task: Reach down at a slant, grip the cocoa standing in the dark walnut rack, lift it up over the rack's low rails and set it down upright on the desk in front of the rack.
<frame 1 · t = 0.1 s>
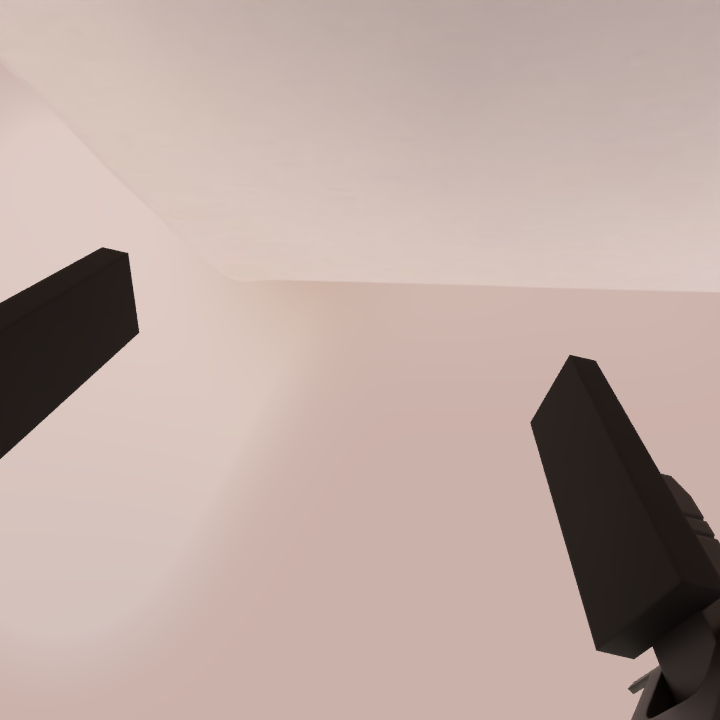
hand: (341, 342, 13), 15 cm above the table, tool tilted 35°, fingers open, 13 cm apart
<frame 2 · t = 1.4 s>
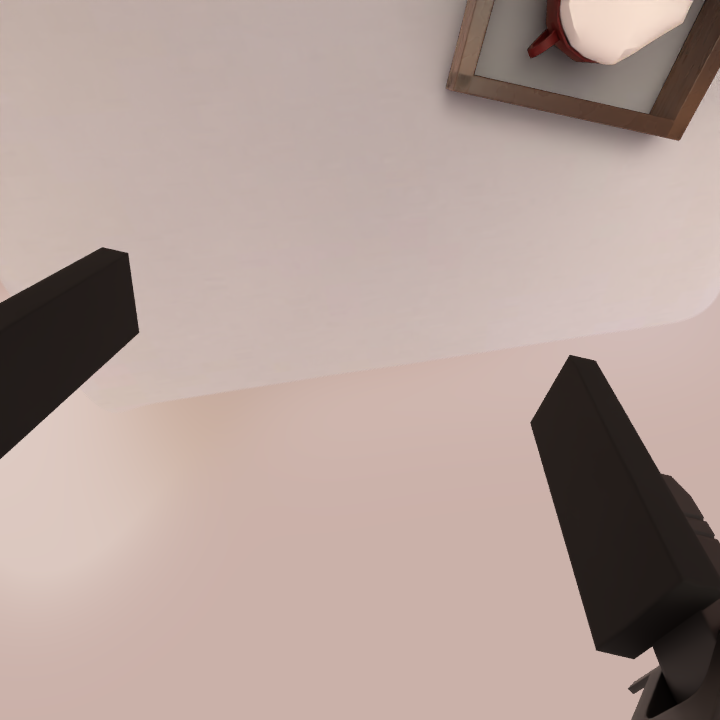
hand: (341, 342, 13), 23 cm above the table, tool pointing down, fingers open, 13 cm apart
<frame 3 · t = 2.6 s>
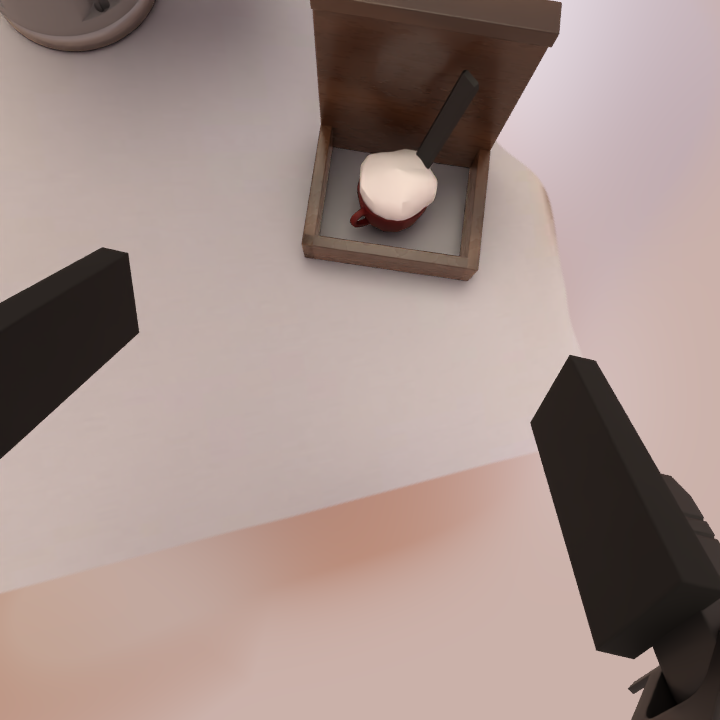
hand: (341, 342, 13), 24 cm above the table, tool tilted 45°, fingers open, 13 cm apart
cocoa: (394, 208, 40), resting in rack
rack: (394, 207, 39), on the table
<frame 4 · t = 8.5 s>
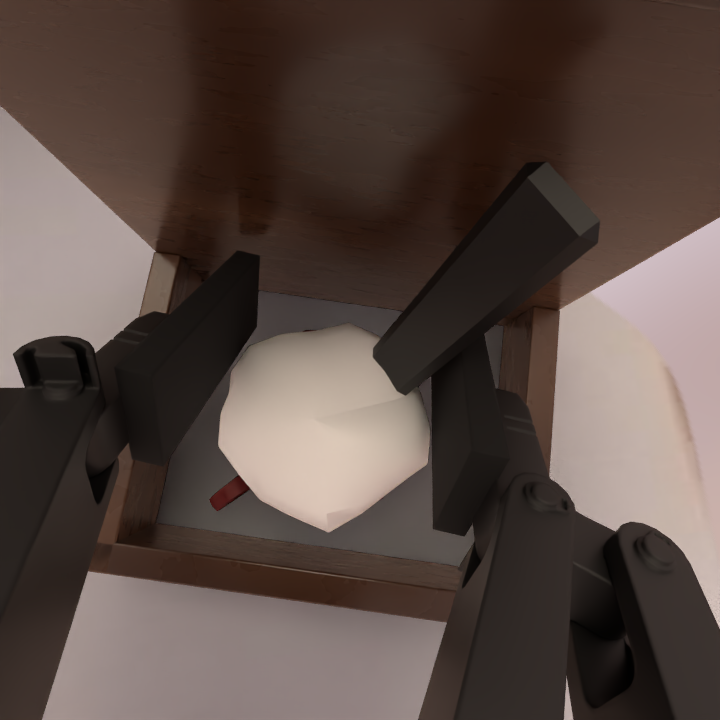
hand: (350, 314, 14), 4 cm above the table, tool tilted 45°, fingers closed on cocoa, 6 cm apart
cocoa: (339, 419, 18), resting in rack, touching gripper
rack: (338, 419, 18), on the table
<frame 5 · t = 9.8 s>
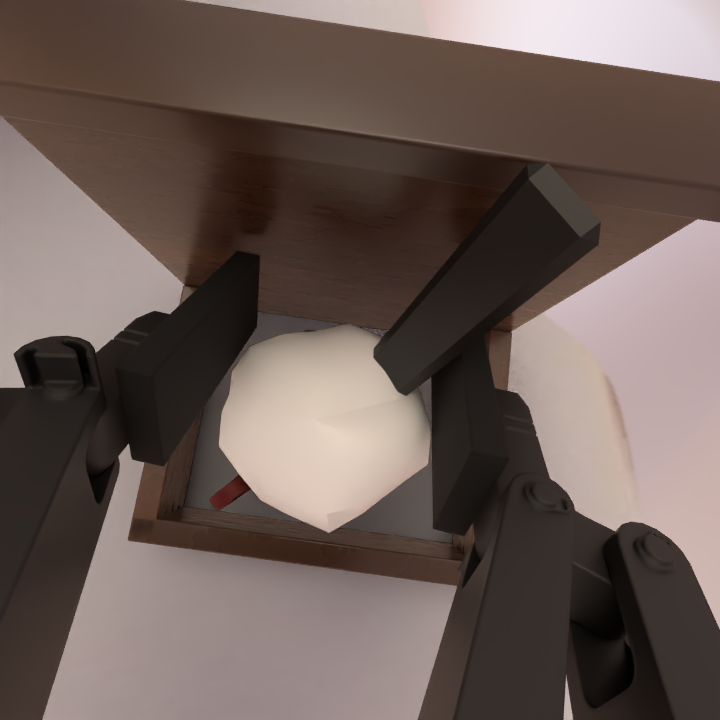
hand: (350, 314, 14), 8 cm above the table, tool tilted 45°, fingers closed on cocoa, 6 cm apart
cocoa: (339, 420, 18), point 3 cm above the table, touching gripper
rack: (333, 420, 21), on the table
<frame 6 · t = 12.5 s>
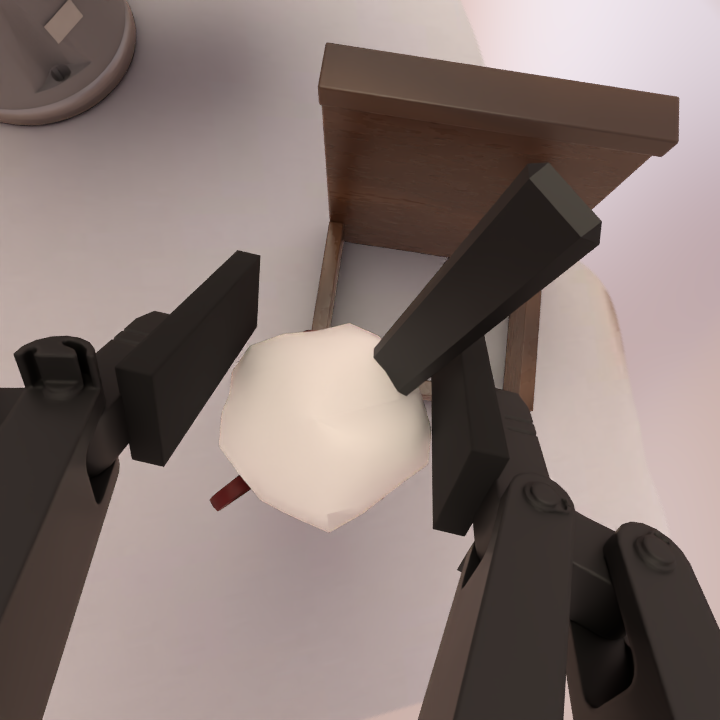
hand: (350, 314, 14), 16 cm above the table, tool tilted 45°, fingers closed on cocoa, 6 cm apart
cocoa: (339, 420, 18), point 12 cm above the table, touching gripper
rack: (421, 317, 31), on the table
when the fingers open (4 cm above the table, at t = 16.6 s): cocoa stays where it is, on the table.
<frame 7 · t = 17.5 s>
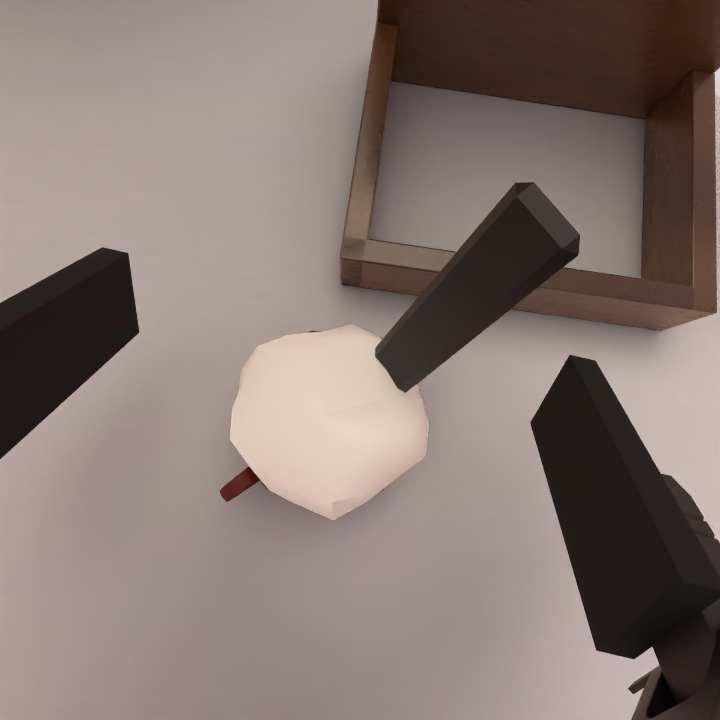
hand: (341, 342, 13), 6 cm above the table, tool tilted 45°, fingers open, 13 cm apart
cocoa: (341, 416, 19), on the table
rack: (511, 190, 21), on the table
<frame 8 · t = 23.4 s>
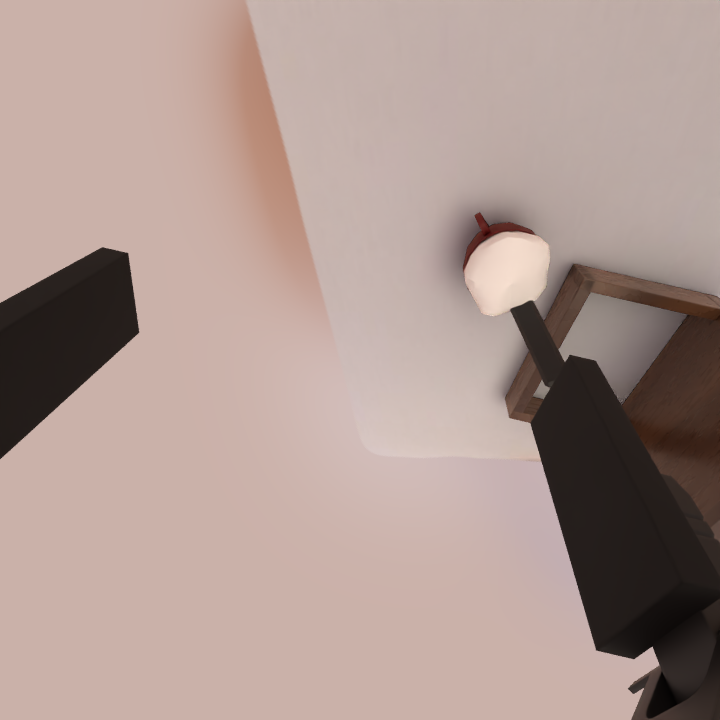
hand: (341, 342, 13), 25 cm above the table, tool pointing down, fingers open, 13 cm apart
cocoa: (499, 256, 36), on the table
rack: (598, 352, 39), on the table
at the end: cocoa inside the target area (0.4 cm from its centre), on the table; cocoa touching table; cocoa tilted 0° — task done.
